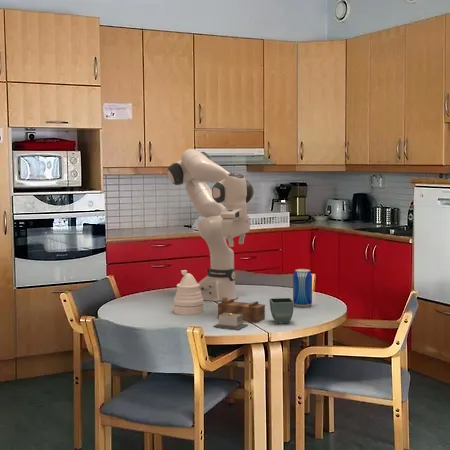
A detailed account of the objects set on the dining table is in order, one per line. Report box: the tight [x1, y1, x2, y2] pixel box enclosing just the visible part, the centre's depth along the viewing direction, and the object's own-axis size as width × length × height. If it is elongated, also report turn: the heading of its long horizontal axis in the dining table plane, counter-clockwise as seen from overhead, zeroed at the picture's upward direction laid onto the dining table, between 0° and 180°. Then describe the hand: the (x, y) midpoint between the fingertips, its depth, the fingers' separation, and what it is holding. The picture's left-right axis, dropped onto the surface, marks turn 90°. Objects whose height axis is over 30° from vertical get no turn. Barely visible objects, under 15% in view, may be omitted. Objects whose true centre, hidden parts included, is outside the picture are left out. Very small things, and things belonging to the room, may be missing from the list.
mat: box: [213, 322, 249, 331], centre depth 268 cm, size 11×8×1 cm
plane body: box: [217, 297, 266, 323], centre depth 281 cm, size 18×7×8 cm, turn 63°
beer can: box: [292, 268, 313, 308], centre depth 305 cm, size 8×8×16 cm
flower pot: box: [268, 297, 295, 324], centre depth 275 cm, size 9×9×9 cm
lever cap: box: [218, 313, 244, 327], centre depth 268 cm, size 8×5×5 cm, turn 63°
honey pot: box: [173, 269, 204, 316], centre depth 294 cm, size 13×13×18 cm
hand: (236, 245), depth 289 cm, fingers open, 8 cm apart
